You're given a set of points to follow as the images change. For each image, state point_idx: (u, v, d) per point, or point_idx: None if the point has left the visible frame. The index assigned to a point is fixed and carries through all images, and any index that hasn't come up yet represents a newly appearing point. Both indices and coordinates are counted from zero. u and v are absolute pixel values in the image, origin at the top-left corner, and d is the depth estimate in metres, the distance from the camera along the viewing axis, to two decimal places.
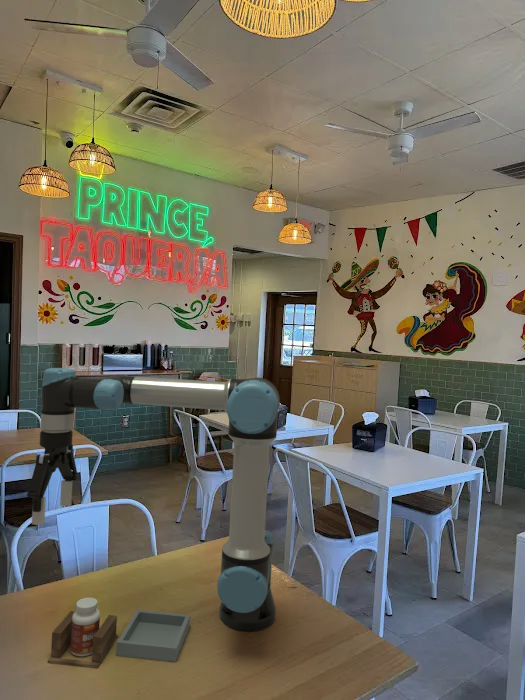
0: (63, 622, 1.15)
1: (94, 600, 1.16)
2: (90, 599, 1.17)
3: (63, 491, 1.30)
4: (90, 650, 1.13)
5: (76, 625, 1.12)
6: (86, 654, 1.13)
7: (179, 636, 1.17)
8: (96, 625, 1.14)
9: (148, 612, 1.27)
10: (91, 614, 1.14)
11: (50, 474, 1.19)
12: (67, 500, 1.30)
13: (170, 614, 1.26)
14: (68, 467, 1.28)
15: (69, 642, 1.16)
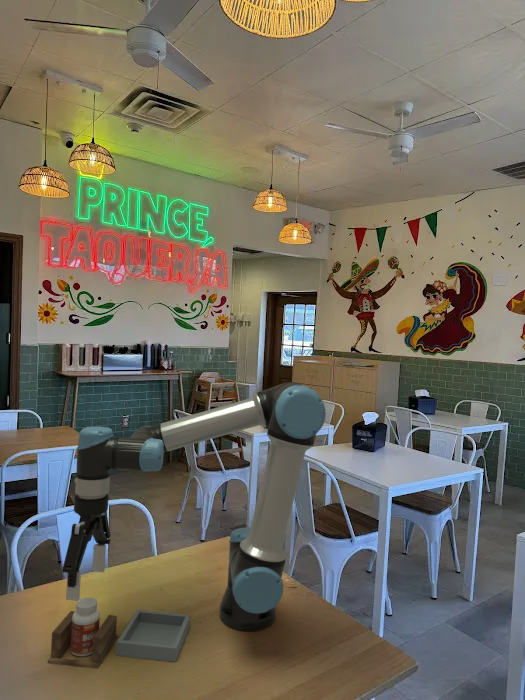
0: (63, 622, 1.15)
1: (95, 600, 1.16)
2: (90, 599, 1.17)
3: (96, 556, 1.22)
4: (90, 650, 1.13)
5: (76, 625, 1.12)
6: (86, 654, 1.13)
7: (179, 636, 1.17)
8: (96, 625, 1.14)
9: (148, 612, 1.27)
10: (91, 614, 1.14)
11: (86, 544, 1.11)
12: (100, 566, 1.21)
13: (170, 614, 1.26)
14: (102, 531, 1.20)
15: (69, 642, 1.16)
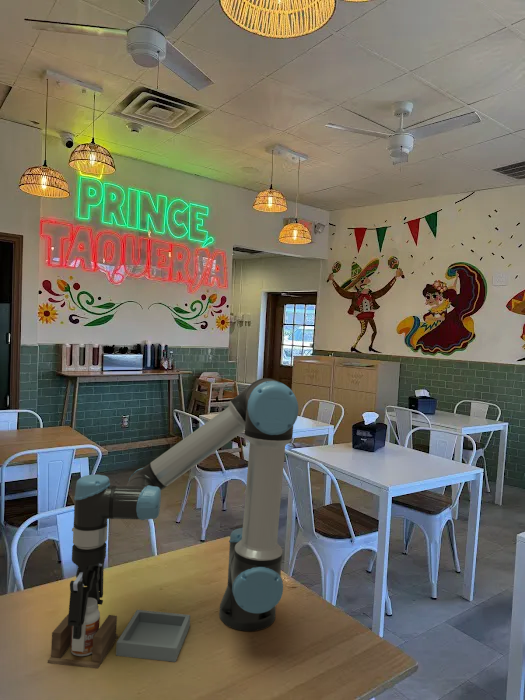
0: (63, 622, 1.15)
1: (94, 600, 1.16)
2: (90, 599, 1.17)
3: None
4: (90, 650, 1.13)
5: None
6: (86, 654, 1.13)
7: (179, 636, 1.17)
8: (95, 625, 1.14)
9: (148, 612, 1.27)
10: (91, 614, 1.14)
11: (87, 595, 1.12)
12: None
13: (170, 614, 1.26)
14: (97, 586, 1.18)
15: (69, 642, 1.16)
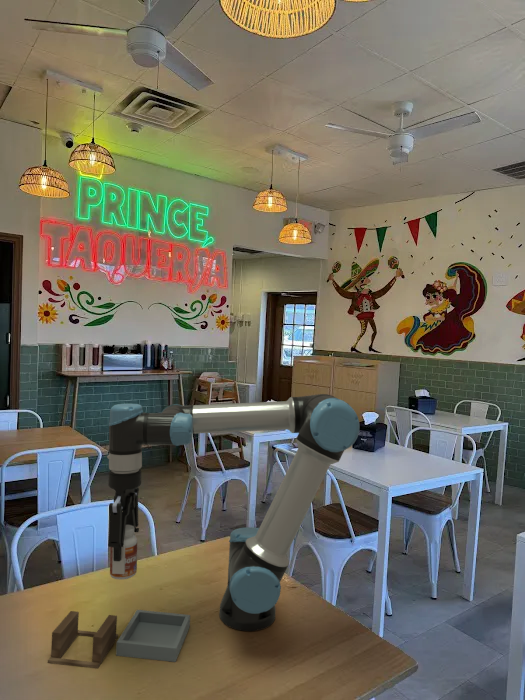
0: (63, 622, 1.15)
1: (131, 526, 1.18)
2: (127, 525, 1.19)
3: None
4: (130, 573, 1.15)
5: None
6: (126, 577, 1.15)
7: (179, 636, 1.17)
8: (134, 549, 1.16)
9: (148, 612, 1.27)
10: (129, 539, 1.16)
11: (125, 519, 1.14)
12: None
13: (170, 614, 1.26)
14: (133, 514, 1.20)
15: (69, 642, 1.16)
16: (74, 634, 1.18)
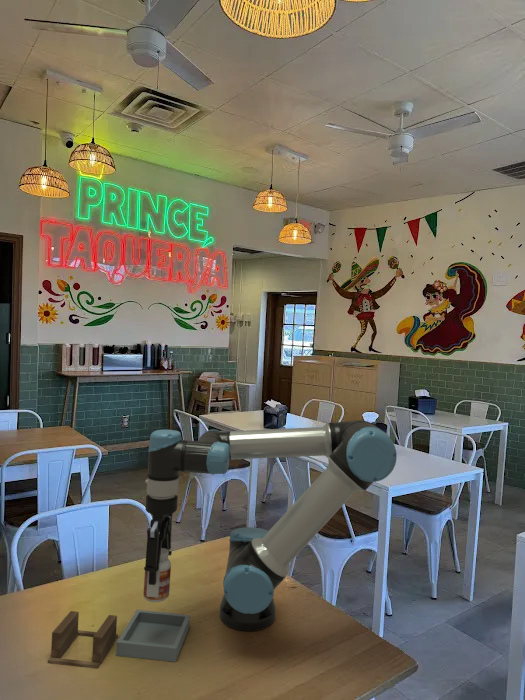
0: (63, 622, 1.15)
1: (166, 550, 1.21)
2: (161, 549, 1.21)
3: None
4: (163, 596, 1.18)
5: None
6: (159, 600, 1.17)
7: (179, 636, 1.17)
8: (168, 573, 1.19)
9: (148, 612, 1.27)
10: (164, 562, 1.18)
11: (161, 544, 1.17)
12: None
13: (170, 614, 1.26)
14: (167, 537, 1.23)
15: (69, 642, 1.16)
16: (74, 634, 1.18)
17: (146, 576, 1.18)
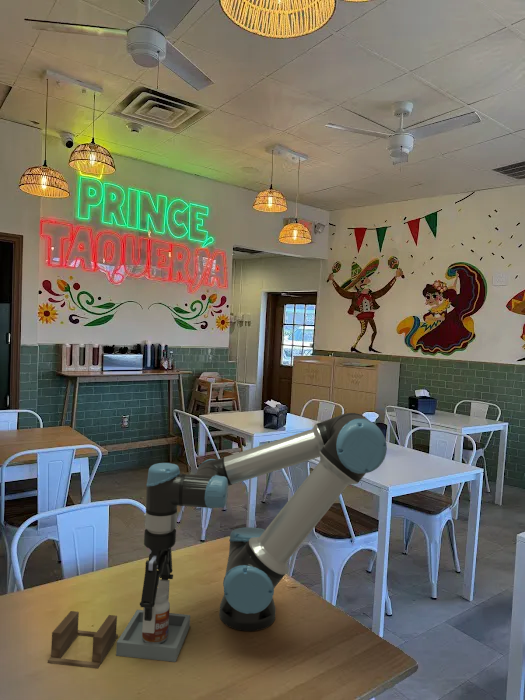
0: (63, 622, 1.15)
1: (164, 591, 1.21)
2: (160, 589, 1.22)
3: None
4: (162, 638, 1.18)
5: None
6: (158, 642, 1.18)
7: (179, 636, 1.17)
8: (167, 614, 1.19)
9: None
10: (162, 604, 1.19)
11: (158, 578, 1.16)
12: None
13: (170, 614, 1.26)
14: (167, 565, 1.24)
15: (69, 642, 1.16)
16: (74, 634, 1.18)
17: None
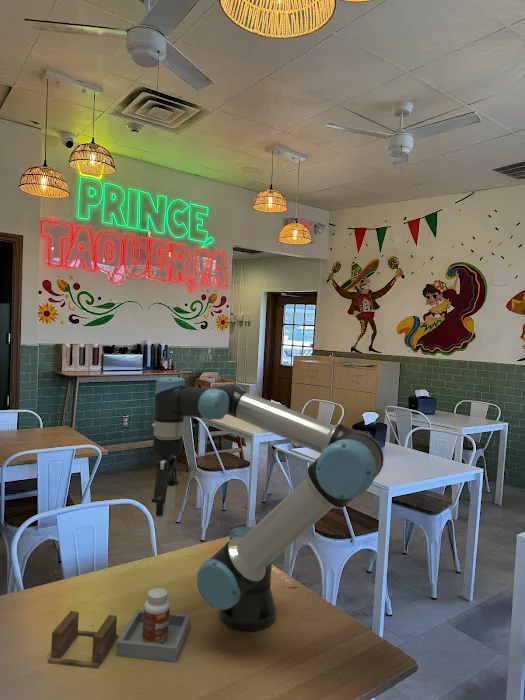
0: (63, 622, 1.15)
1: (164, 591, 1.21)
2: (160, 590, 1.22)
3: (167, 496, 1.35)
4: (162, 638, 1.18)
5: (149, 614, 1.17)
6: (158, 642, 1.18)
7: (179, 636, 1.17)
8: (167, 614, 1.19)
9: None
10: (162, 604, 1.19)
11: (168, 479, 1.24)
12: (172, 504, 1.35)
13: (170, 614, 1.26)
14: (174, 472, 1.33)
15: (69, 642, 1.16)
16: (74, 634, 1.18)
17: (145, 618, 1.18)
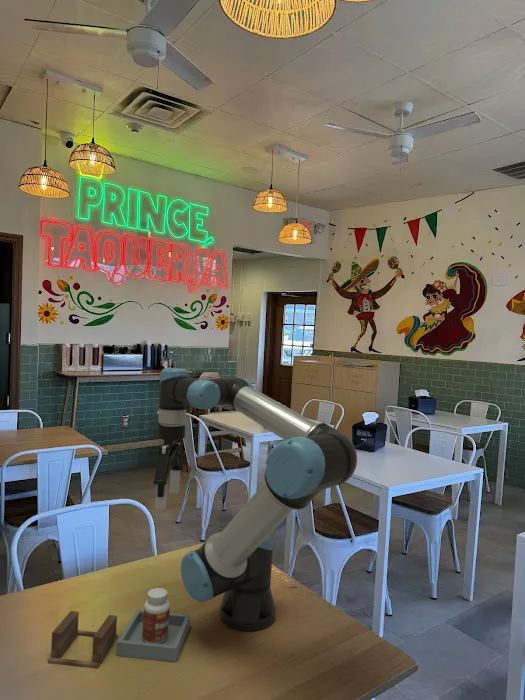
0: (63, 622, 1.15)
1: (164, 591, 1.21)
2: (160, 589, 1.22)
3: (172, 480, 1.43)
4: (162, 638, 1.18)
5: (149, 614, 1.17)
6: (158, 642, 1.18)
7: (179, 636, 1.17)
8: (167, 614, 1.19)
9: None
10: (162, 604, 1.19)
11: (169, 463, 1.32)
12: (176, 488, 1.43)
13: (170, 614, 1.26)
14: (178, 458, 1.41)
15: (69, 642, 1.16)
16: (74, 634, 1.18)
17: (145, 618, 1.18)
